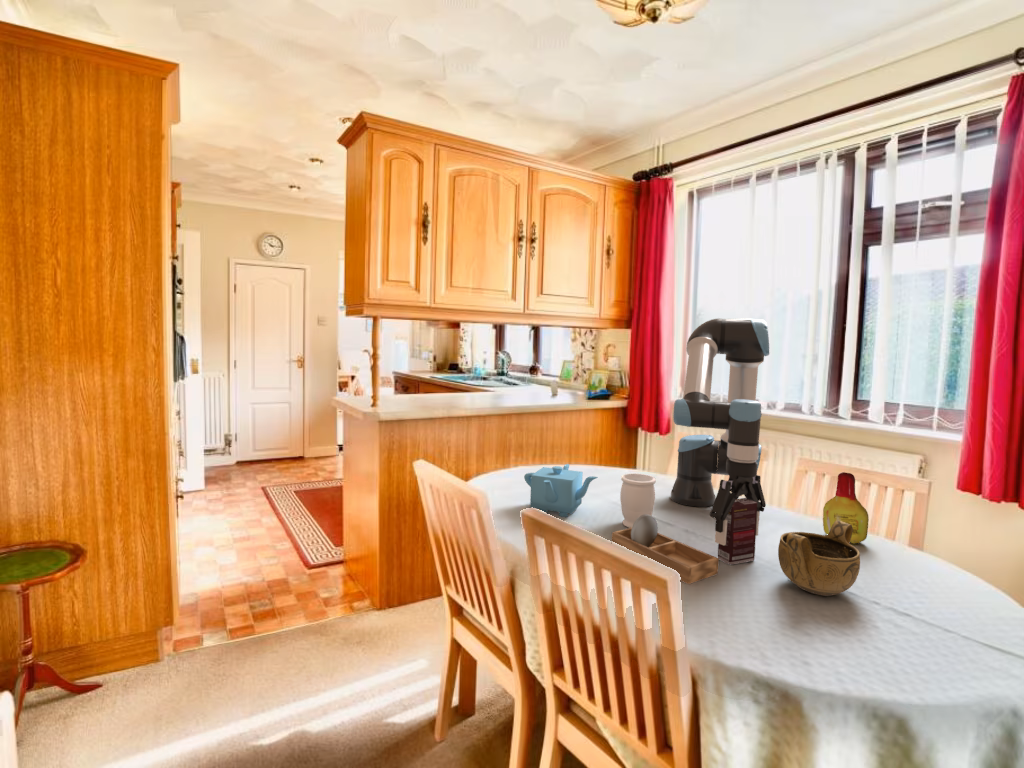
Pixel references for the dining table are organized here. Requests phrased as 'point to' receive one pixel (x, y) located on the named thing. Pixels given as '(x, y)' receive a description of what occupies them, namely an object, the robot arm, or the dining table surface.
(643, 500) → the jar
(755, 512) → the supplement box
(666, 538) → the tray
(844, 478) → the bottle
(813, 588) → the ceramic bowl
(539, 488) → the teakettle
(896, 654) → the dining table surface
